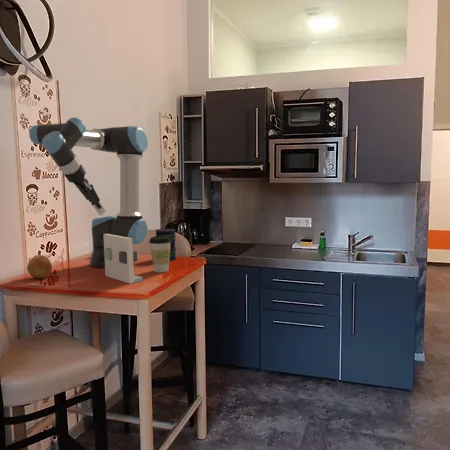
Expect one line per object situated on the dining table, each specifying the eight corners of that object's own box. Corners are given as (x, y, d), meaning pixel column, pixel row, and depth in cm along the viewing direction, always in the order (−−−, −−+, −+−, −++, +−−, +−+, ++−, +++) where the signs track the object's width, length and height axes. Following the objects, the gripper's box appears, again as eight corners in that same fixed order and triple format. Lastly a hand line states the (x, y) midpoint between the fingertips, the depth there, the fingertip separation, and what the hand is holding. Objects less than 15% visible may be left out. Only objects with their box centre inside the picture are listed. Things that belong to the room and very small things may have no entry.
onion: (22, 280, 196) (20, 256, 195) (39, 275, 205) (37, 252, 204) (41, 281, 192) (39, 257, 191) (57, 276, 202) (56, 253, 200)
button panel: (105, 275, 201) (103, 234, 199) (117, 273, 205) (116, 232, 203) (129, 283, 187) (127, 238, 184) (142, 280, 191) (140, 237, 188)
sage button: (104, 258, 198) (104, 248, 198) (117, 256, 202) (117, 247, 202) (109, 259, 195) (109, 250, 195) (122, 257, 199) (121, 248, 199)
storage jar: (152, 260, 233) (151, 230, 231) (162, 257, 242) (161, 228, 240) (170, 261, 229) (169, 231, 227) (179, 258, 238) (179, 228, 236)
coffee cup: (168, 273, 203) (167, 239, 201) (146, 273, 205) (145, 239, 203) (175, 268, 213) (174, 236, 211) (154, 268, 215) (153, 235, 213)
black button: (119, 262, 189) (118, 252, 189) (132, 260, 193) (131, 250, 193) (124, 263, 186) (123, 253, 186) (137, 261, 190) (136, 251, 190)
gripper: (56, 171, 182) (87, 214, 198) (72, 179, 174) (103, 223, 189) (71, 159, 185) (101, 203, 200) (88, 166, 177) (117, 211, 192)
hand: (102, 212), depth 195 cm, fingers closed
